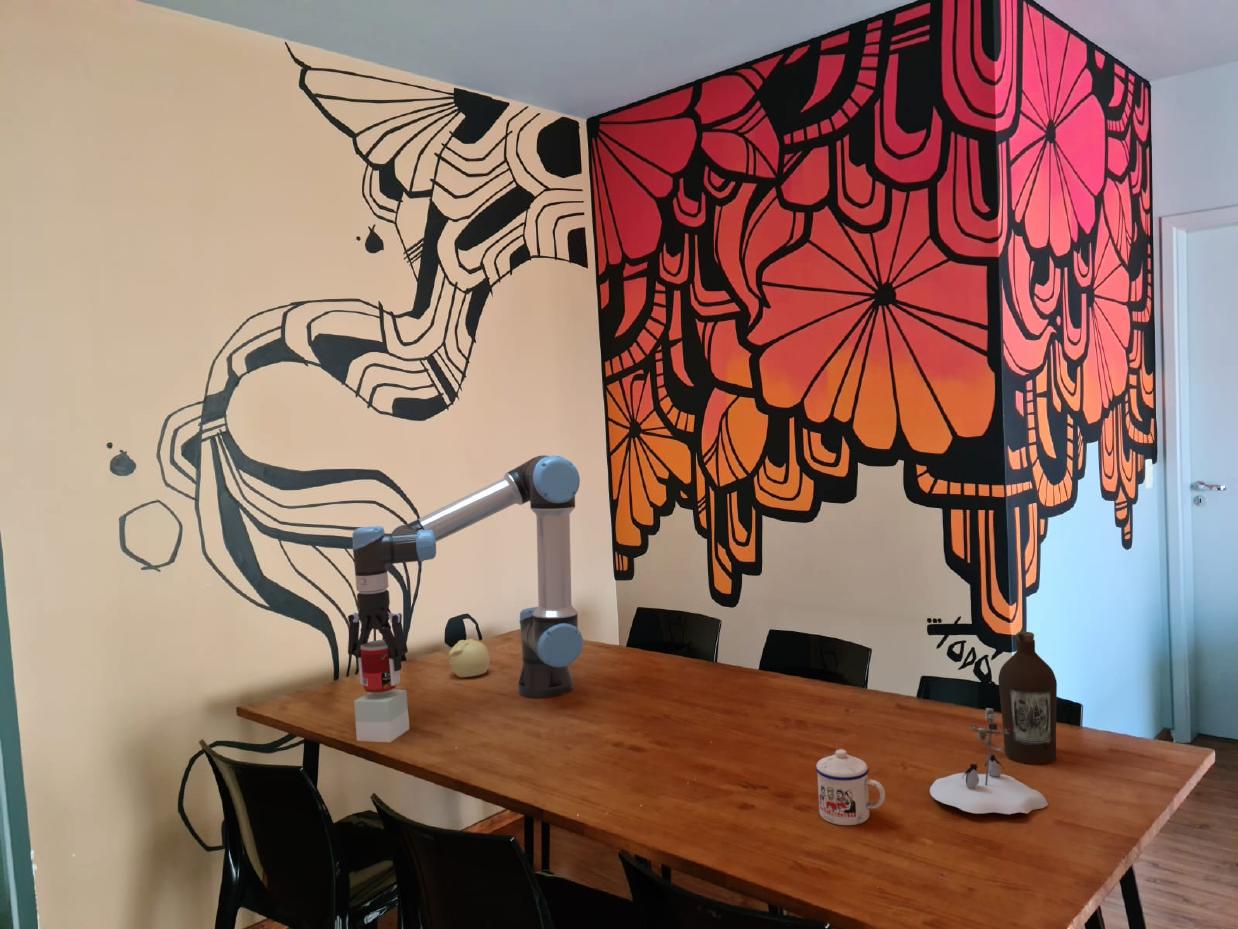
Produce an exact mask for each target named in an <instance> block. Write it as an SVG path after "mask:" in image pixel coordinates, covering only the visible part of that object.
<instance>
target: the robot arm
mask: <svg viewBox="0 0 1238 929" xmlns="http://www.w3.org/2000/svg"><path fill="white" fill-rule="evenodd" d="M580 482H581V478H580V474H579V471H578V468H577V467H576V466H575V465H574V463H572V462H571V460H569V459H567V458H565V457H563V456H561V455H538V456H534V457H533V458H530V459H529V460H527V461H526V462H523V463H522V464H521V465H519V466H517V467H515V468H513V469H511V470H509V471H508V472H505V473H504V475H503V478H501V479H499V480H497V481H495V482H493V483H491V484H489V485H486V486H485V487H482V488H480V489H478V490H475V491H474V492H472V493H470V494H468V495H464V497H462V498H459V499H457V500H455V501H453V502H451V503H449V504H446V505H444V506H442V507H440V508H438V509H436V510H434V511H432V512H430V513H428V514H425V515H424V516H421V517H419V518H418V519H416V520H413V521H411V522H409V523H407V524H401V525H398V526H397V527H395V528H394V529H393V530H392V531H391V533H389V532H385V529H384V527H383V526H380V525H378V526H377V525H374V526H364V527H358V528H355V529H354V530H353V532H352V535H351V536H352V552H353V564H354V565H353V566H354V576H355V587H356V591H357V592H358V593H357V594H356V601H357V607H358V609H359V610H358V613H357V612H354V613H352V614H349V615H347V620H348V623H349V627H348V628H349V629H348V641H347V642H348V643H347V644H348V645H347V654H348V655H350V656H351V655H352V656H354V657H355V664H356V670H357V671H359V672H358V673H359V683H360V685H363V673H362V662H361V649H360V648H361V645H363V644H365V643H367V642H369V640H370V639H369V638H370V635H371V632H372V631H373V629H374V630H377V631H378V632H379V633H380V634H381V636H382V638H383V640H384V641H385V643H386V645H387V646H388V649H389V651H390V654H391V656H392V657H391V658H390V659H389V664H390V676H391V686H394V685H396V686H397V685H398V684H400V683H401V677H400V671H401V670H402V656H403V655H405V654H408V652H409V649H408V646H407V642H406V638H405V633H404V629H403V625H402V624H403V623H402V622H403V621H402V619H403V615H402V613H401V612H398V613H393V612H391V610H390V604H391V600H390V591H389V589H388V588H389V587H390V586H389V576H388V565H394V564H404V563H405V564H406V563H414V562H424V561H431V560H433V559H435V557H436V555H437V542H439V541H441V540H443V539H445V538H448V537H449V536H452V535H454V534H455V533H458V532H460V531H462V530H464V529H466V528H468V527H470V526H472V525H474V524H476V523H479V522H480V521H482V520H484V519H487V518H488V517H491V516H492V515H494V514H497V513H499V512H502V511H503V510H505V509H507V508H509V507H511V506H514V505H515V504H517V505H520V506H523V505H524V504H526V503H528V502H529V503H530V508H529V509H530V510H531V511H532V512H533V513H534V514H535V515H536V545H537V546H536V549H537V550H536V551H537V553H536V555H537V558H536V560H537V590H538V591H537V596H538V598H537V600H538V601H537V604H538V606H534V607H527V608H524V609H522V610H521V611H520V613H519V626H520V641H521V654H522V667H521V671H520V675H519V679H518V682H517V686H518V687H517V688H518V689H517V690H518V693H519V695H520V696H523V697H525V698H532V699H534V698H536V699H537V698H538V699H540V698H541V699H543V698H545V699H546V698H552V697H557V696H562V695H565V694H566V693H569V692H571V691H572V690H573V689H574V678H573V676H572V673H571V671H570V669H569V666H570V665H572V664H573V663H574V662H575V661H576V660H577V659H578V658H579V657H580V655H581V654H582V652H583V648H584V639H583V634H582V633H581V631H580V630H579V626H578V625H579V621H578V620H579V619H578V618H579V617H578V615H579V614H578V611H577V609H576V608H575V607H573V604H572V572H571V571H572V569H571V568H572V567H571V566H572V565H571V564H572V563H571V562H572V560H571V523H570V521H571V520H570V518H571V516H570V514H571V513H572V512H573V511H574V510H575V508H576V494H577V493H578V491H579V488H580V486H581V485H580ZM389 620H390V621H389ZM360 621H361V623H362V625H361V628H360ZM390 623H391V624H390Z"/></svg>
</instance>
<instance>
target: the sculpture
mask: <svg viewBox="0 0 1238 929" xmlns="http://www.w3.org/2000/svg"><path fill="white" fill-rule="evenodd" d="M447 657H448V661H449V663H448V664H449V665H450V666H451V670H452V672H453V674H455V675H456V676H457V677H458V678H468V677H469V678H470V677H475V676H480V675H483V674H485V673H486V672H487V671H488V670H489V666H490V662H491V656H490V651H489V650H488V647H487V646H486V645H485V644H484V643H483V642H480V641H478V640H475V639H473V638H468V639H465V640H464V639H461V640H458V641H457V643H455V644H454V646H453V647H452V648H451V649H450V650H449V652H448V656H447Z"/></svg>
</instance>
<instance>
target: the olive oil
mask: <svg viewBox="0 0 1238 929" xmlns="http://www.w3.org/2000/svg"><path fill="white" fill-rule="evenodd" d="M997 679H998V690H999V691H998V692H999V701H1000V710H1001V719H1002V728H1003V729H1002V731H1003V730H1004V728H1006V730H1007V732H1008V733H1009V734H1003V742H1004V743H1003V745H1004V746H1003V747H1004V755H1005V756H1006V757H1007V758H1008V759H1009V760H1012V761H1015V762H1017V763H1022V764H1026V765H1047V764H1051V763H1053V762H1055V761H1056V759H1057V697H1058V696H1057V695H1058V694H1057V693H1058V692H1057V691H1058V684H1057V683H1058V682H1057V678H1056V674H1055V673H1054V670H1053V669H1052V667H1051V666H1050V665H1049V664H1048V663H1046V661H1045V660H1043V659H1042V657H1041V656H1040V655H1038V653H1037V652H1036V640H1035V634H1034V633H1033V632H1031V631H1030V632H1029V631H1018V632H1017V633H1016V651H1015V653H1014V654H1013V655H1012V656H1011V657H1010V658H1009V659H1007V660H1006V662H1004V664H1002V666H1001V667H1000V671H999V672H998V678H997ZM1011 726H1013V728H1012V729H1011V730H1008V728H1010V727H1011Z"/></svg>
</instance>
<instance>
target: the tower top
mask: <svg viewBox="0 0 1238 929" xmlns="http://www.w3.org/2000/svg"><path fill="white" fill-rule="evenodd" d="M407 695H408V694H407V690H406V689H392V690H389V691H385V692H379V693H370V692H366V693H365V694H363V695H362V696H360V697H358V698H357V699H355V700H354V701H353V704H354V706H353V707H354V717H355V719H354V720H355V721H356V722H388V723H389V722H391V721H392V720H394V719H395V718H397V717H398V716H400V715H401V714H402V713H404V712H405V711H407V710H408V711H409V707H408V696H407ZM356 722H355V723H356Z"/></svg>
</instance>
